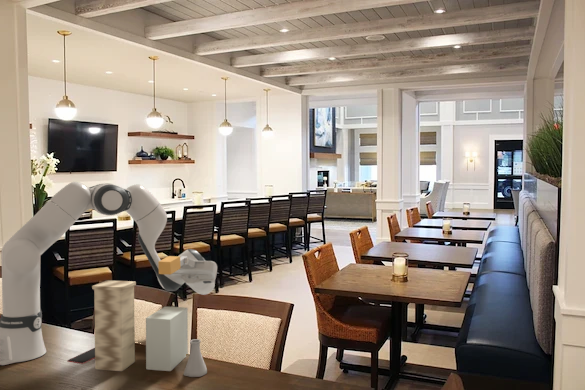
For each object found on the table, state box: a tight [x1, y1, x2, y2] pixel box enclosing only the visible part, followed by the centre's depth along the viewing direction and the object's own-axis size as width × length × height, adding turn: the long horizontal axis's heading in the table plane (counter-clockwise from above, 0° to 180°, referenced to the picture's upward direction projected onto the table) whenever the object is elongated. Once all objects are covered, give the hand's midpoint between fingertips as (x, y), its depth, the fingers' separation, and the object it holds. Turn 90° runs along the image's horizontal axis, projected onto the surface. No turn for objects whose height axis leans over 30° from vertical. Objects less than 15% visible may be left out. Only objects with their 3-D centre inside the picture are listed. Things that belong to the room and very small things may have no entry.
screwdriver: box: [158, 255, 188, 275], centre depth 168 cm, size 17×4×4 cm, turn 170°
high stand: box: [91, 279, 137, 372], centre depth 159 cm, size 10×8×26 cm
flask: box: [183, 338, 208, 378], centre depth 153 cm, size 7×7×10 cm
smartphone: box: [66, 347, 95, 365], centre depth 168 cm, size 7×1×14 cm
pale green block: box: [145, 306, 189, 372], centre depth 162 cm, size 8×14×16 cm, turn 170°
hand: (180, 259), depth 172 cm, fingers closed on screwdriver, 2 cm apart
